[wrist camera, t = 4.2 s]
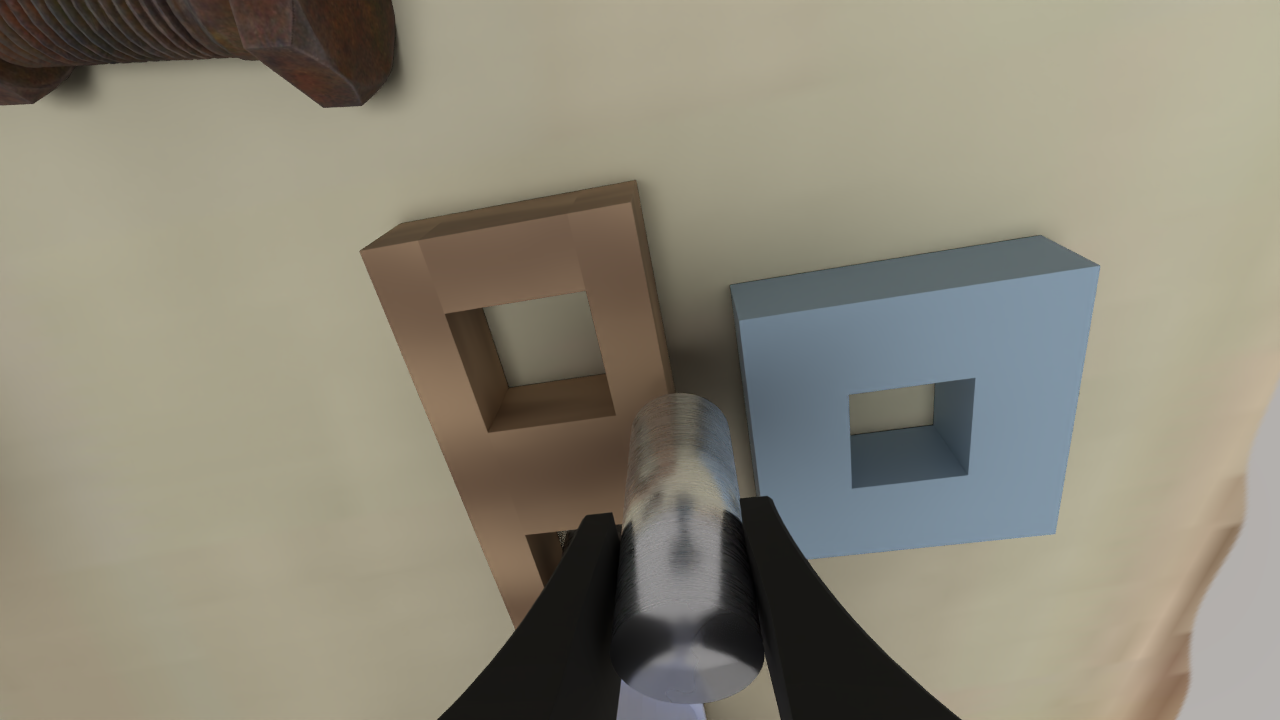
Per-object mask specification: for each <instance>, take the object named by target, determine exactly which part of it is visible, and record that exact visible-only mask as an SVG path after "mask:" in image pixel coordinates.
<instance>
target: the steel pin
mask: <svg viewBox="0 0 1280 720" xmlns="http://www.w3.org/2000/svg"><path fill="white" fill-rule="evenodd" d="M739 499H740V494H739V488H738V481H737V475H736V469H735V463H734V456H733V450H732V444H731V437H730V431H729V426H728V422H727V420H726V418H725V416H724V414H723V413H722V411H721V410H720V409H719V408H718V407H717V406H716V405H715V404H713V403H712V402H710V401H709V400H707V399H705V398H703V397H700V396H697V395H693V394H687V393H673V394H667V395H663V396H661V397H658V398H656V399H654V400H652V401H650V402H649V403H647V404H646V405H645V406H644V407H643V408H642V409H641V410H640V411H639V412H638V414H637V415H636V417H635V419H634V421H633V424H632V428H631V437H630V448H629V458H628V469H627V479H626V490H625V500H624V511H623V521H622V532H621V542H620V553H619V564H618V574H617V585H616V595H615V606H614V616H613V627H612V637H611V648H610V657H611V662H612V665H613V667H614V669H615V671H616V673H617V674H618V675H619V677H620V678H621V679H622V680H623V681H624V682H625V683H626V684H627V685H629V686H630V687H631V688H633V689H634V690H636V691H637V692H639V693H641V694H643V695H645V696H648V697H650V698H653V699H656V700H660V701H664V702H669V703H676V704H702V703H709V702H713V701H718V700H721V699H724V698H727V697H729V696H732V695H734V694H736V693H738V692H739V691H741V690H743V689H744V688H745V687H747V686H748V685H749V684H750V683H751V682H752V681H753V680H754V679H755V678H756V677H757V675H758V674H759V672H760V670H761V668H762V666H763V662H764V655H765V653H764V645H763V639H762V633H761V626H760V620H759V614H758V608H757V601H756V595H755V589H754V583H753V579H752V574H751V570H750V565H749V561H748V557H747V550H746V544H745V537H744V531H743V524H742V517H741V509H740V501H739Z"/></svg>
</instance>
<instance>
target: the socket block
mask: <svg viewBox="0 0 1280 720" xmlns="http://www.w3.org/2000/svg"><path fill="white" fill-rule="evenodd" d="M1099 271H1100V265H1098V264H1096V263H1094V262H1092V261H1090V260H1088V259H1086V258H1085V257H1083V256H1081V255H1079V254H1077V253H1075V252H1073V251H1071V250H1069V249H1067V248H1065V247H1063V246H1061V245H1059V244H1057V243H1055V242H1053V241H1051V240H1049V239H1048V238H1046V237H1044V236H1042V235H1039V236H1033V237H1027V238H1021V239H1014V240H1008V241H1002V242H996V243H989V244H983V245H977V246H971V247H964V248H958V249H952V250H946V251H939V252H933V253H927V254H921V255H914V256H908V257H902V258H896V259H889V260H883V261H877V262H870V263H864V264H858V265H852V266H845V267H839V268H833V269H827V270H820V271H814V272H808V273H802V274H795V275H789V276H783V277H777V278H770V279H764V280H758V281H752V282H745V283H739V284H733V285H730V290H731V298H732V306H733V313H734V321H735V329H736V337H737V345H738V353H739V361H740V369H741V377H742V385H743V393H744V401H745V409H746V416H747V424H748V432H749V440H750V448H751V456H752V464H753V472H754V480H755V488H756V496H757V497H760V496H768V497H770V498H771V499H773V502H774V504H775V507H776V509H777V511H778V513H779V515H780V517H781V519H782V521H783V523H784V524H785V526H786V528H787V530H788V531H789V533H790V535H791V536H792V538H793V540H794V541H795V543H796V544H797V546H798V547H799V549H800V550H801V552H802V553H803V555H804V556H805V558H806V559H817V558H827V557H836V556H846V555H856V554H865V553H875V552H885V551H895V550H904V549H914V548H924V547H934V546H943V545H953V544H963V543H972V542H982V541H992V540H1002V539H1011V538H1021V537H1031V536H1041V535H1050V534H1055V532H1056V526H1057V520H1058V514H1059V509H1060V503H1061V497H1062V491H1063V485H1064V479H1065V473H1066V467H1067V461H1068V455H1069V449H1070V443H1071V437H1072V431H1073V425H1074V419H1075V413H1076V408H1077V402H1078V396H1079V390H1080V384H1081V378H1082V372H1083V366H1084V360H1085V354H1086V348H1087V342H1088V336H1089V330H1090V324H1091V318H1092V312H1093V307H1094V301H1095V295H1096V289H1097V283H1098V277H1099ZM932 383H935V397H934V421H933V425H931V426H923V427H915V428H907V429H899V430H891V431H883V432H875V433H867V434H859V435H851V436H850V416H849V395H850V394H858V393H865V392H873V391H880V390H888V389H895V388H902V387H910V386H917V385H925V384H932Z"/></svg>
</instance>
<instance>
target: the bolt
mask: <svg viewBox="0 0 1280 720" xmlns="http://www.w3.org/2000/svg"><path fill="white" fill-rule="evenodd" d="M394 43H395V15H394V10H393V5H392V1H391V0H0V105H19V104H34V103H35V102H37V101H38V100H40V99H41V98H43V97H44V96H45V95H47V94H48V93H50V92H51V91H53V90H54V89H55V88H56V87H57V86H59V85H60V84H61V83H62V82H63V81H64V80H66V79H67V78H68V77H69V76H70V74H71V73H72V71H73V69H74V68H75V66H80V65H98V64H108V63H110V64H116V63H131V62H147V61H170V60H193V59H197V60H198V59H211V58H229V57H230V58H240V59H243V60H251V61H253V60H260V61H261V62H263V63H264V64H265V65H266V66H268V67H269V68H270V69H272V70H273V71H274V72H276V73H277V74H279V75H280V76H281V77H283V78H284V79H285V80H287V81H288V82H289V83H291V84H292V85H293V86H295V87H296V88H297V89H299V90H300V91H302V92H303V93H304V94H306V95H307V96H308V97H310V98H311V99H312V100H314V101H315V102H316V103H318V104H319V105H320V106H322V107H323V108H330V107H350V106H362V105H363V104H365V103H366V102H367V101H368V100H369V99H370V98H371V97H372V96H373V95H374V94H375V93H377V91H378V90H379V89H380V88H381V87H382V85H383V84H384V83H385V82H386V80H387V78H388V76H389V74H390V72H391V69H392V67H393V55H394Z"/></svg>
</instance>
